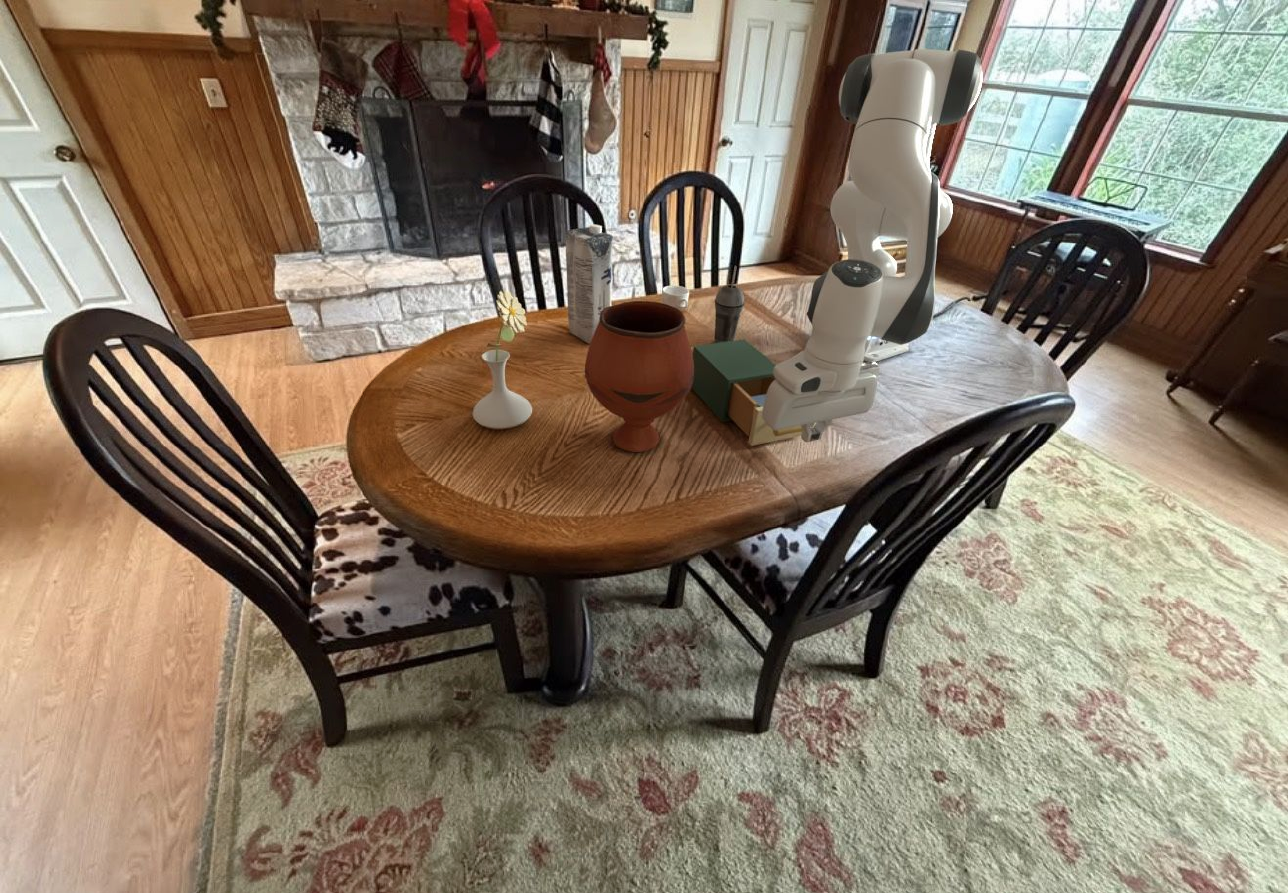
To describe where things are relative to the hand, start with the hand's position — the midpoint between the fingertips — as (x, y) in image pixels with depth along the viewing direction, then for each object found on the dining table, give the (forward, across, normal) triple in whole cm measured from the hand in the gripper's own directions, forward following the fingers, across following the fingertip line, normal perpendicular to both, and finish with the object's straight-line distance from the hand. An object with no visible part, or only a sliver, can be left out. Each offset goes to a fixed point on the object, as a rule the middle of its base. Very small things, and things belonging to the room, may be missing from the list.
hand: (810, 439), depth 95 cm
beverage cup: (+7, -11, -51) cm, 52 cm away
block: (+5, 0, -14) cm, 15 cm away
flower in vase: (+7, +47, -34) cm, 58 cm away
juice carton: (+7, +20, -66) cm, 69 cm away
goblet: (+7, +25, -19) cm, 32 cm away
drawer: (+6, 0, -14) cm, 15 cm away
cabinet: (+7, 0, -27) cm, 27 cm away
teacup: (+7, -9, -76) cm, 76 cm away
